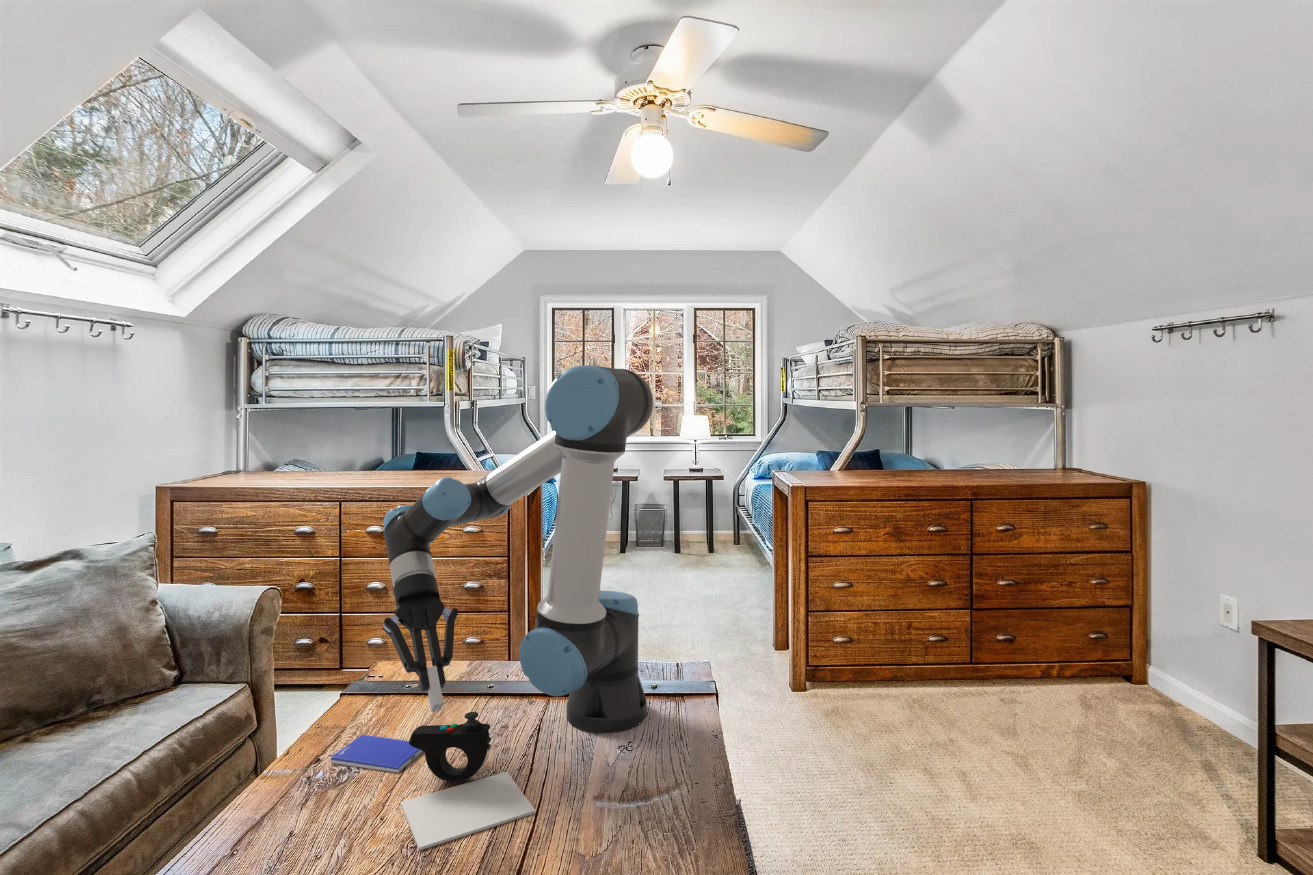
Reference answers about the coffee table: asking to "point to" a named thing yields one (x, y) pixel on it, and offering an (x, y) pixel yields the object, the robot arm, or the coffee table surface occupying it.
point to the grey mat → (465, 809)
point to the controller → (463, 736)
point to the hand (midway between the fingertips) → (437, 707)
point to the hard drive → (377, 753)
